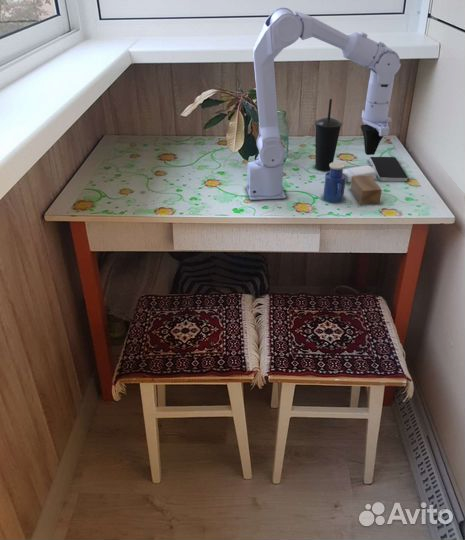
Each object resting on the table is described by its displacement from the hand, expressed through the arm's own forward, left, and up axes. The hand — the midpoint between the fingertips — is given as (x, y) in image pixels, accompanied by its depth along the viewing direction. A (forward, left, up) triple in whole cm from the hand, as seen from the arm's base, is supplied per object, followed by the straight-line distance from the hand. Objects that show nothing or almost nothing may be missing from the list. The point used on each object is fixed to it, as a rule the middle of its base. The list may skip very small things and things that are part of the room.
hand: (369, 153), depth 131 cm
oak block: (-1, -4, -10) cm, 11 cm away
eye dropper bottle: (+5, +8, -9) cm, 13 cm away
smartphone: (+11, +12, -11) cm, 20 cm away
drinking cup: (-7, +16, -11) cm, 21 cm away
